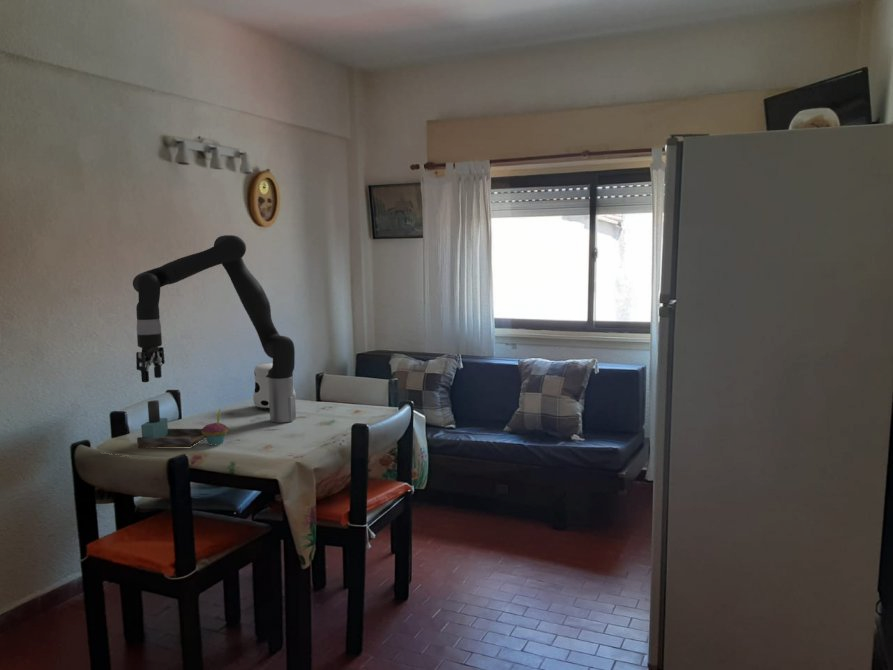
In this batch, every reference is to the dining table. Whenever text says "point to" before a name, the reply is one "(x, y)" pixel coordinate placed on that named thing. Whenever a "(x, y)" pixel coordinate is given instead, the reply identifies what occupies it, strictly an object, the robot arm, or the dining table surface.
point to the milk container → (262, 386)
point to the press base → (173, 439)
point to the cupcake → (215, 432)
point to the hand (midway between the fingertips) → (151, 379)
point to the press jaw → (154, 422)
